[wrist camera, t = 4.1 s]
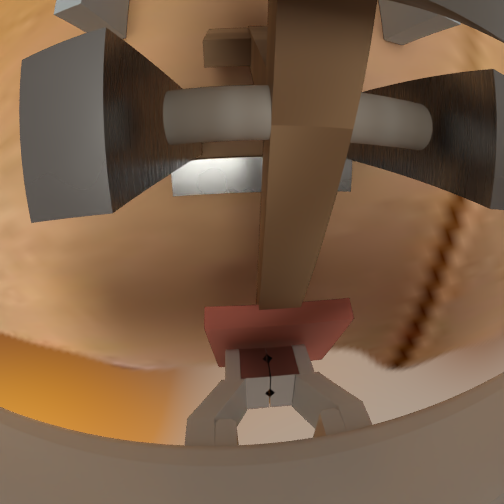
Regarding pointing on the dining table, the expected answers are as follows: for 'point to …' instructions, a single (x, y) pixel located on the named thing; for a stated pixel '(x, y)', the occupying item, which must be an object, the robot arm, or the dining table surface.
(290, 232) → the lever
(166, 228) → the dining table surface
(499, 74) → the stand
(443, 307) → the dining table surface
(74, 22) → the grey u-shaped bracket
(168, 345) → the dining table surface
